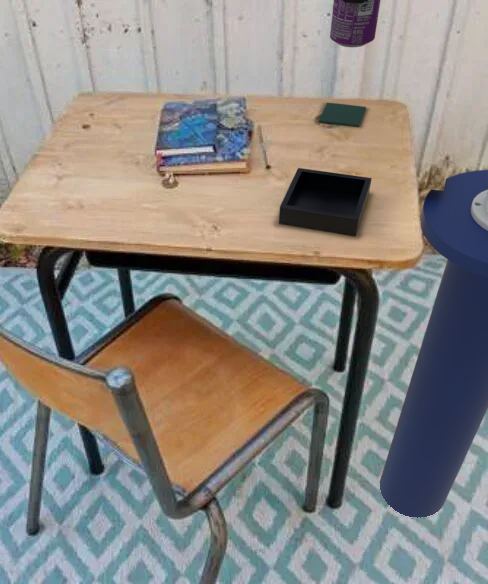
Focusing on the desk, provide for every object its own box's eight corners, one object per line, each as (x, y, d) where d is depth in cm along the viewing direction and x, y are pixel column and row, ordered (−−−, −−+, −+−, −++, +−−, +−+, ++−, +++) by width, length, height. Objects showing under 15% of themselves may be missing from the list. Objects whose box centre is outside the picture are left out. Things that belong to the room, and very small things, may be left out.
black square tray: (368, 194, 97) (371, 177, 95) (355, 236, 90) (358, 219, 88) (296, 184, 100) (298, 167, 98) (278, 223, 93) (279, 207, 91)
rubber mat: (365, 108, 115) (366, 106, 115) (358, 127, 111) (359, 124, 111) (326, 104, 117) (326, 102, 117) (318, 122, 113) (318, 120, 113)
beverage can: (380, 37, 106) (393, -48, 97) (365, 53, 102) (377, -34, 93) (338, 30, 108) (348, -52, 100) (322, 46, 104) (331, -39, 95)
